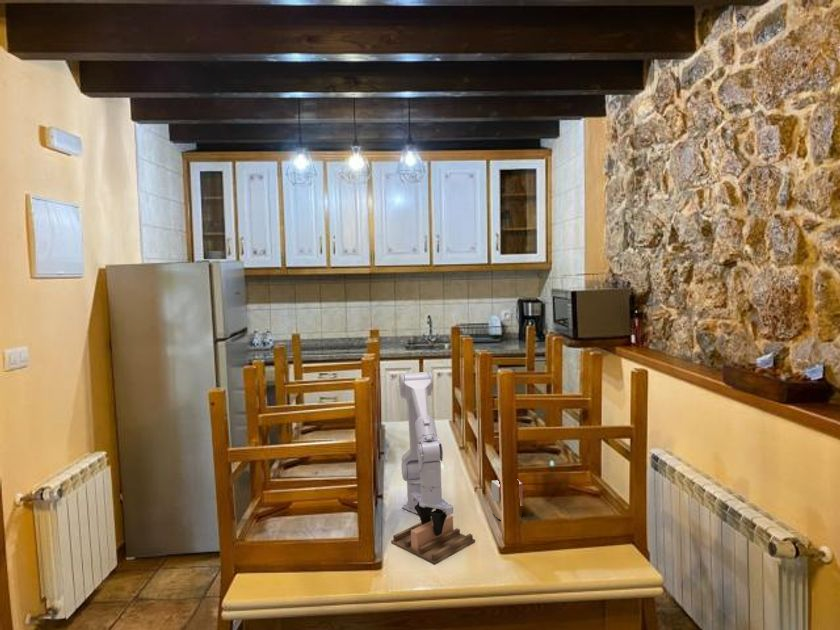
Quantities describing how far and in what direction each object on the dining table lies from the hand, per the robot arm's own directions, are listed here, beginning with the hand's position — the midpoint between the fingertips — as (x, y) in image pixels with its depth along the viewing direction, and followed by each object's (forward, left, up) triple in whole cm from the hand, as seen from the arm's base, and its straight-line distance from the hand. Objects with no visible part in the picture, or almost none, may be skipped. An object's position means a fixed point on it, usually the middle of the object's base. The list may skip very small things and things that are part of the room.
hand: (432, 531), depth 156 cm
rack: (0, 0, -3) cm, 3 cm away
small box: (-27, +5, -3) cm, 28 cm away
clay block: (0, 0, -2) cm, 2 cm away
